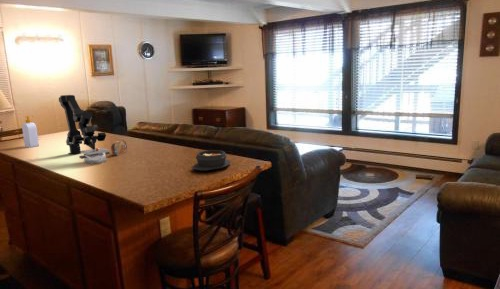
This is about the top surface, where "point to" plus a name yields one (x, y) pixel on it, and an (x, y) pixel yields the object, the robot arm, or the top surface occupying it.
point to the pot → (95, 158)
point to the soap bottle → (30, 134)
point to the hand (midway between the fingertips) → (94, 149)
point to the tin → (119, 147)
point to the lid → (94, 151)
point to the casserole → (211, 160)
